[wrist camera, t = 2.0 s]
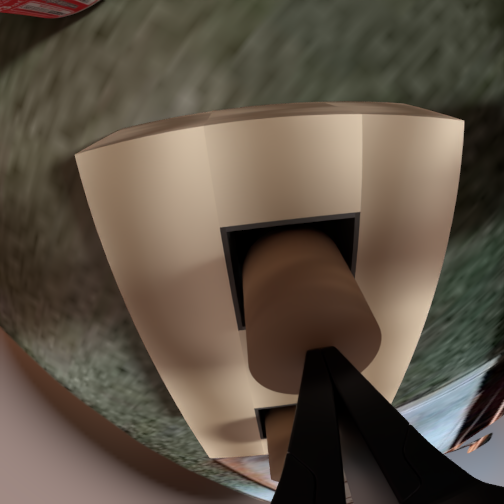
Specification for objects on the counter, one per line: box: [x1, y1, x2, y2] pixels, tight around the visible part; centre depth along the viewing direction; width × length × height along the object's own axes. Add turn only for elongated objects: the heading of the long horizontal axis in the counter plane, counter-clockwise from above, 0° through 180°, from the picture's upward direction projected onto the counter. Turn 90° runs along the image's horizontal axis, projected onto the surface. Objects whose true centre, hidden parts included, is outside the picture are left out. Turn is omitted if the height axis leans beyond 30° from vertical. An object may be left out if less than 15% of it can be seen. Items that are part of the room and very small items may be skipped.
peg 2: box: [242, 225, 382, 395], centre depth 10 cm, size 4×4×4 cm
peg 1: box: [265, 405, 297, 482], centre depth 17 cm, size 4×4×4 cm
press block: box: [75, 101, 464, 458], centre depth 17 cm, size 14×24×5 cm, turn 6°
